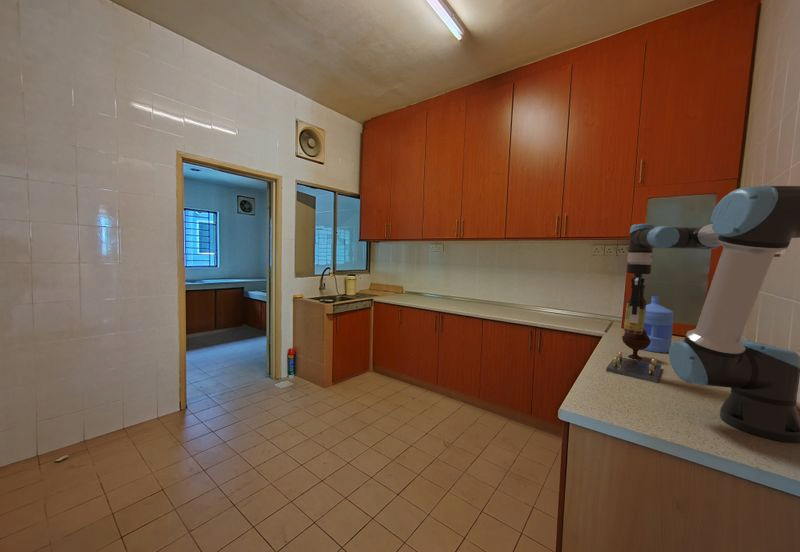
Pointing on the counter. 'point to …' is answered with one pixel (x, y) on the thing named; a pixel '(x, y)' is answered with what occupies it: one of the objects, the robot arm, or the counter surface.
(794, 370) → the robot arm
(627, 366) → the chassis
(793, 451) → the counter surface
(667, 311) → the water jug
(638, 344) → the ice cream bowl
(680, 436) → the counter surface
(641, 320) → the sauce bottle
